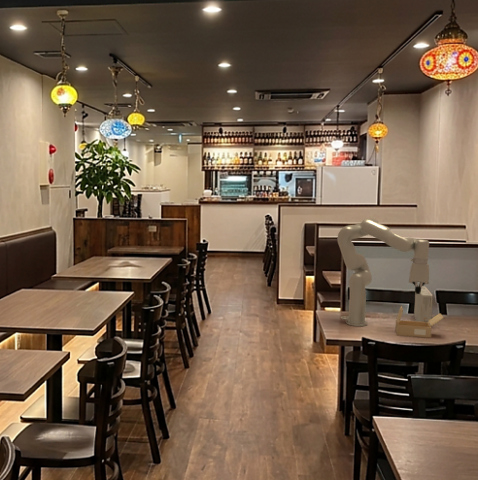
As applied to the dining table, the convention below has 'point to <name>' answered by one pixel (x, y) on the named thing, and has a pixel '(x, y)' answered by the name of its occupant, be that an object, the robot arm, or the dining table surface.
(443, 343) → the dining table surface
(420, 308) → the packaging
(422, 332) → the carton
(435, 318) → the flap
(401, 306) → the flap
